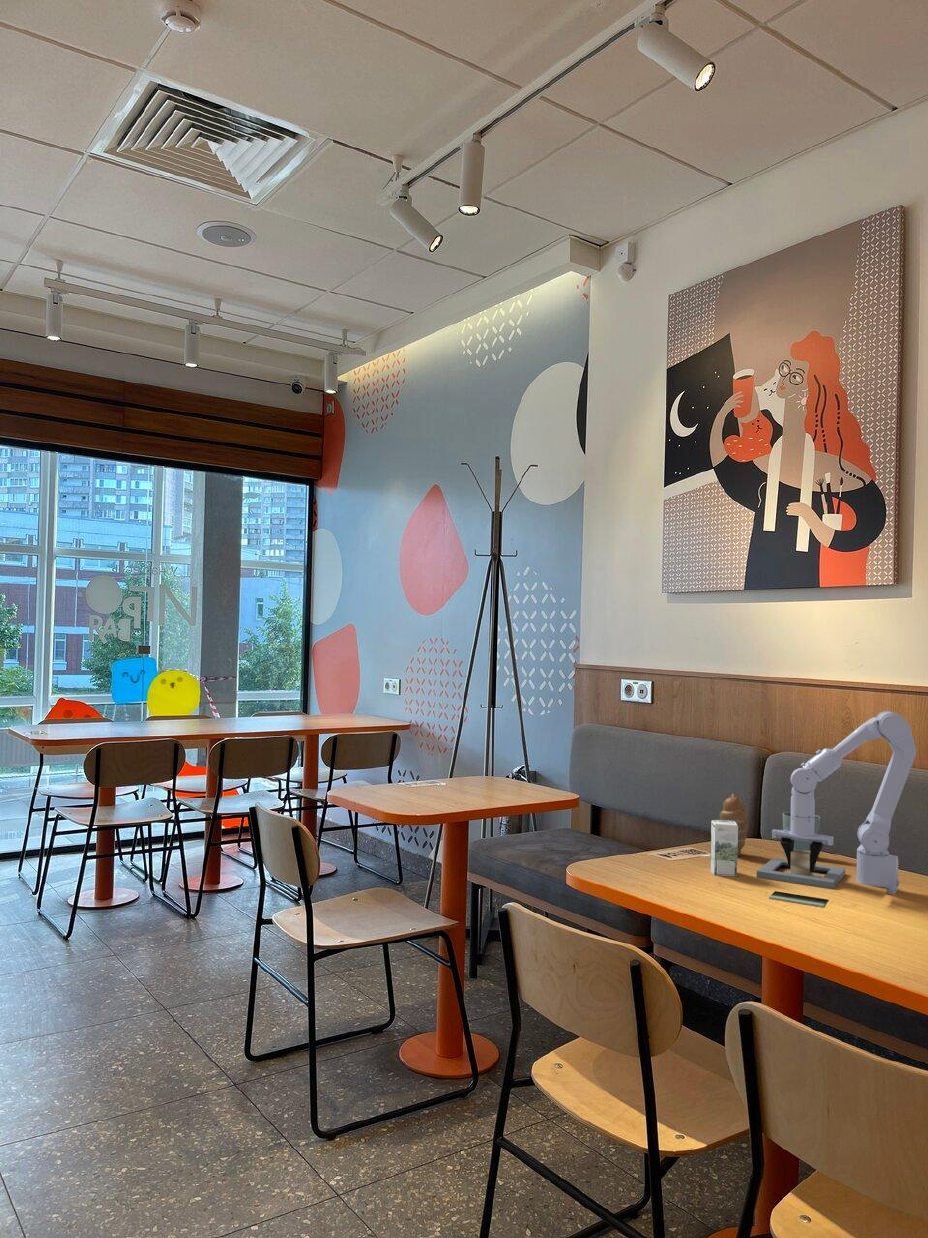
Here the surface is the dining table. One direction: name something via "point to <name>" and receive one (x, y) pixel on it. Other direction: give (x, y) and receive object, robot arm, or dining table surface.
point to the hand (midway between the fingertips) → (801, 870)
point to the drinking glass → (800, 844)
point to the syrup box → (724, 848)
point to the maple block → (800, 862)
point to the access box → (826, 882)
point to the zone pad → (798, 899)
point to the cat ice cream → (736, 818)
